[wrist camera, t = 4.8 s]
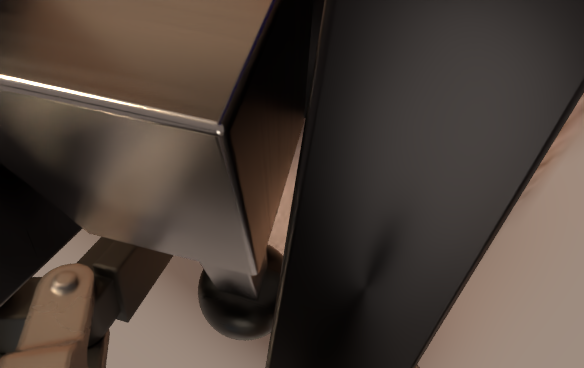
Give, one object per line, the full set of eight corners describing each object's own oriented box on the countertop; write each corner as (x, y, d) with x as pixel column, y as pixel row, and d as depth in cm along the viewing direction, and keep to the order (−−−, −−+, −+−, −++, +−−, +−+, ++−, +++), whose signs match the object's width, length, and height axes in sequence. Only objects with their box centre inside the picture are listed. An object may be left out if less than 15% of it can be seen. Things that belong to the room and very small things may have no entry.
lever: (302, 268, 12) (281, 356, 11) (224, 248, 13) (194, 332, 11) (362, -102, 3) (270, 179, 2) (59, -147, 3) (-223, 66, 2)
